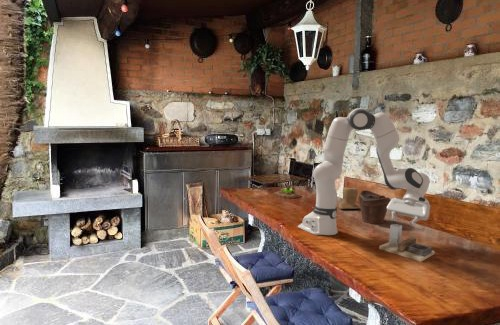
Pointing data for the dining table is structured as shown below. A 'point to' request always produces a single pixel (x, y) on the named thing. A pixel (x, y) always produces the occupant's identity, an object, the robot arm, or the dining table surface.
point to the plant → (287, 193)
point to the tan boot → (349, 199)
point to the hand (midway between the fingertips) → (401, 222)
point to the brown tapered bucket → (373, 207)
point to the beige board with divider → (409, 249)
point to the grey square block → (395, 234)
